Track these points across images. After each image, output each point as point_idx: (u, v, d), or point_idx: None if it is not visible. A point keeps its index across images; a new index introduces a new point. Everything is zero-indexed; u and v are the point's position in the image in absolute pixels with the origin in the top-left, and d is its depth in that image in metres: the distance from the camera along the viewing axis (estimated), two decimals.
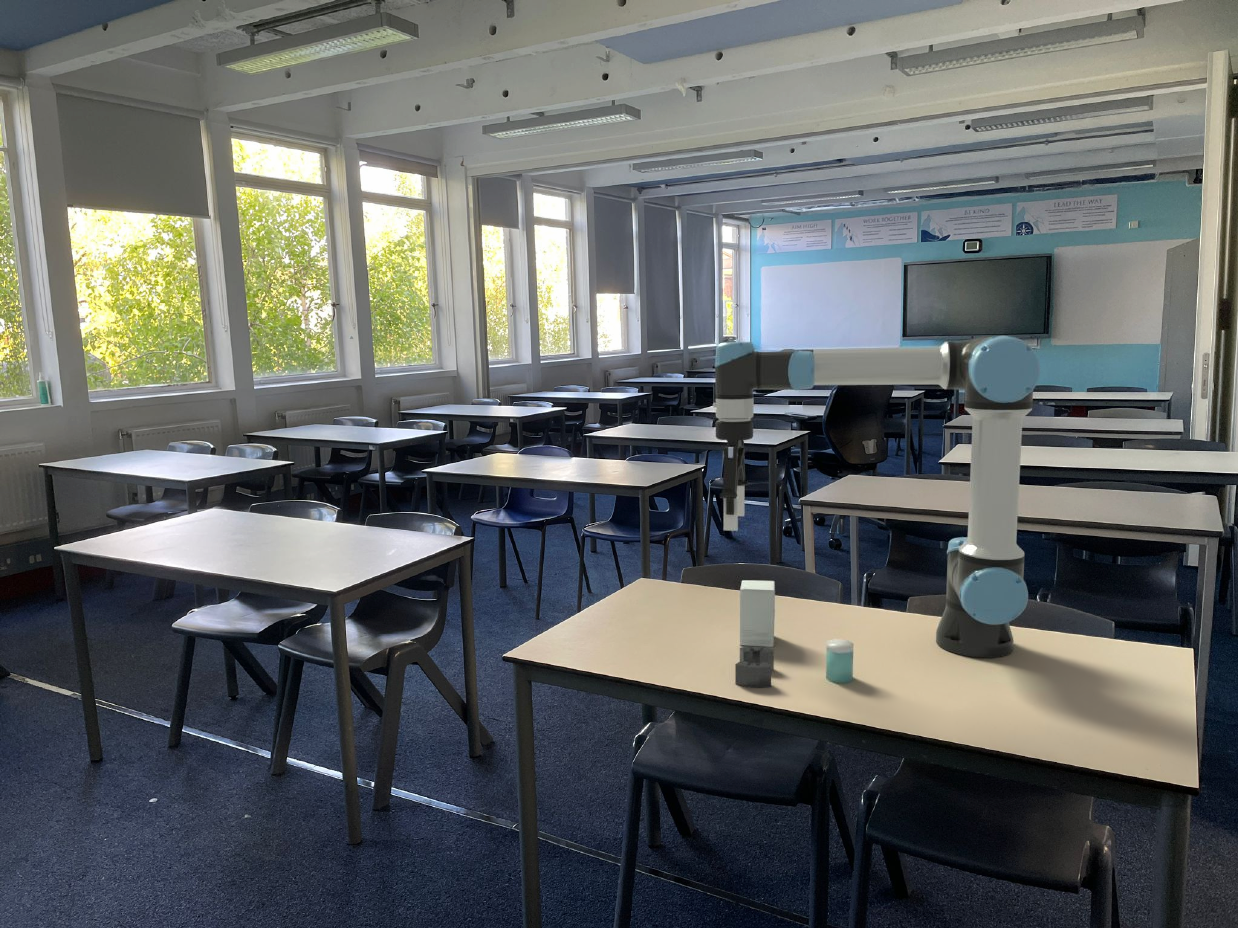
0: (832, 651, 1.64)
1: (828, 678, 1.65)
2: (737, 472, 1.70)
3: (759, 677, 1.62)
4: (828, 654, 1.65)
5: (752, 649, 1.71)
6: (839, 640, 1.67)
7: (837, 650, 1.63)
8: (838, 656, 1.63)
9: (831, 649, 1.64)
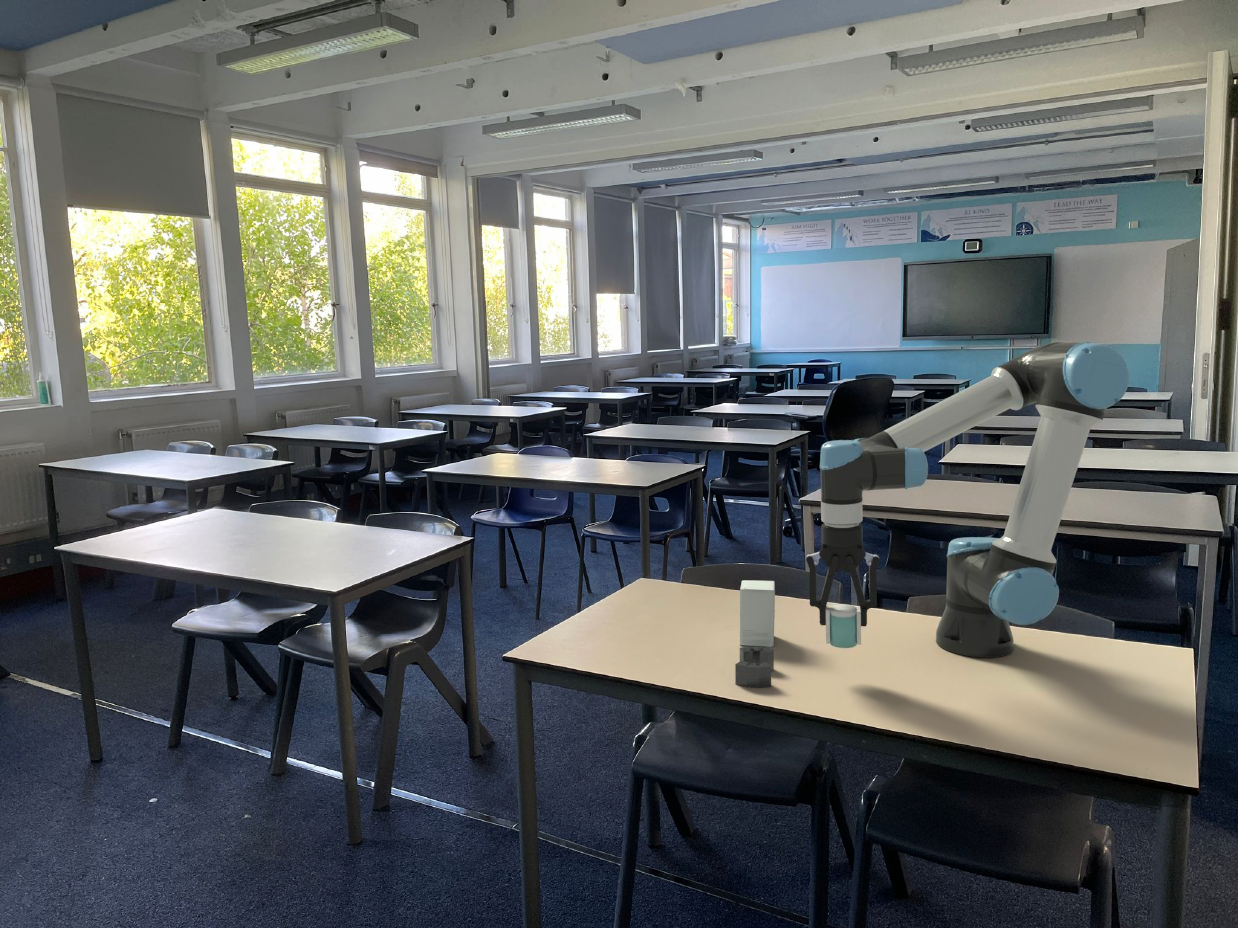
0: (835, 616, 1.63)
1: (832, 643, 1.64)
2: (825, 582, 1.63)
3: (759, 677, 1.62)
4: (831, 619, 1.64)
5: (752, 649, 1.71)
6: (842, 605, 1.66)
7: (840, 614, 1.62)
8: (842, 621, 1.62)
9: (834, 614, 1.63)
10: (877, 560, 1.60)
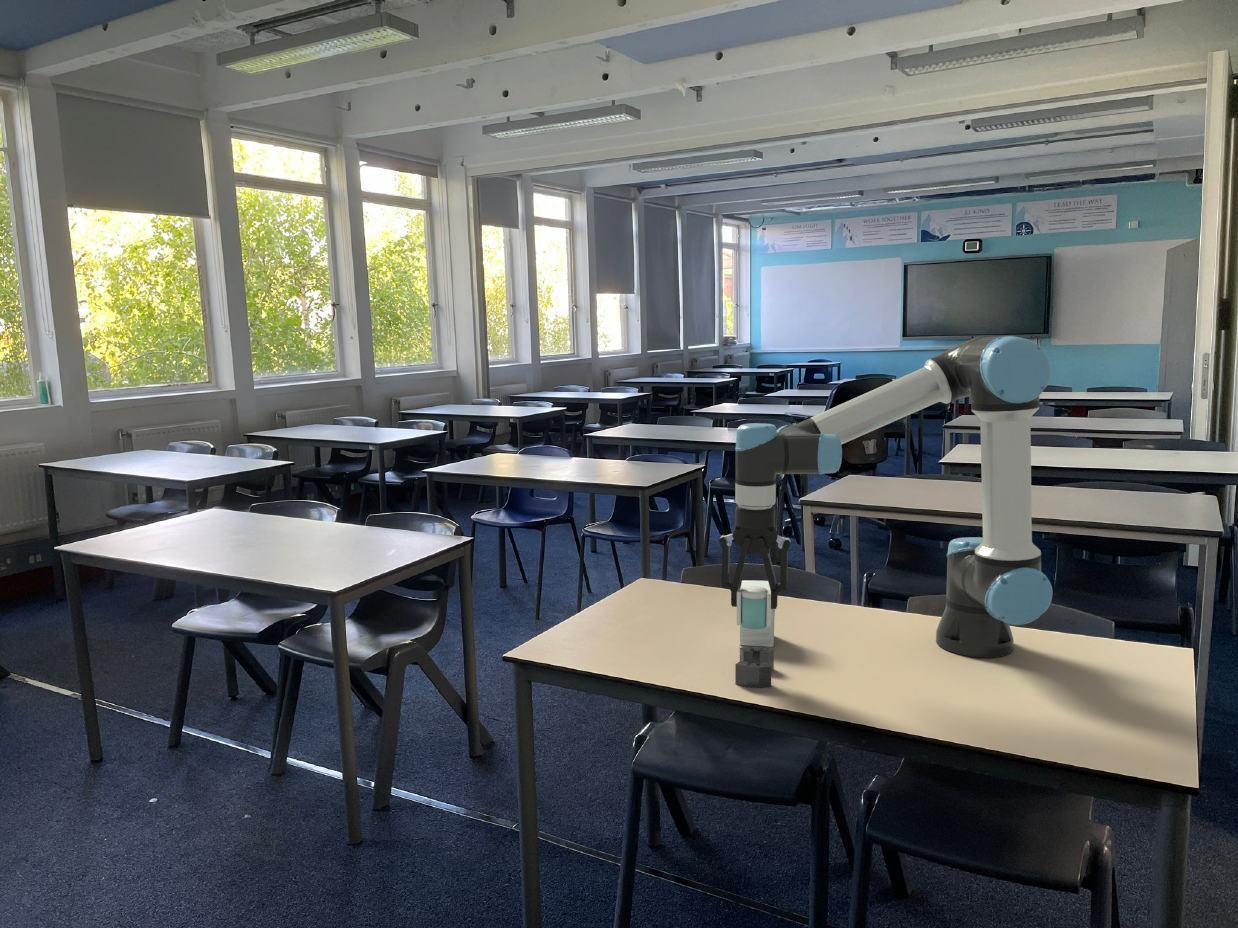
0: (745, 597, 1.64)
1: (742, 624, 1.66)
2: None
3: (759, 677, 1.62)
4: (742, 600, 1.65)
5: (752, 649, 1.71)
6: (754, 587, 1.67)
7: (750, 596, 1.63)
8: (751, 602, 1.63)
9: (745, 595, 1.64)
10: (788, 543, 1.61)
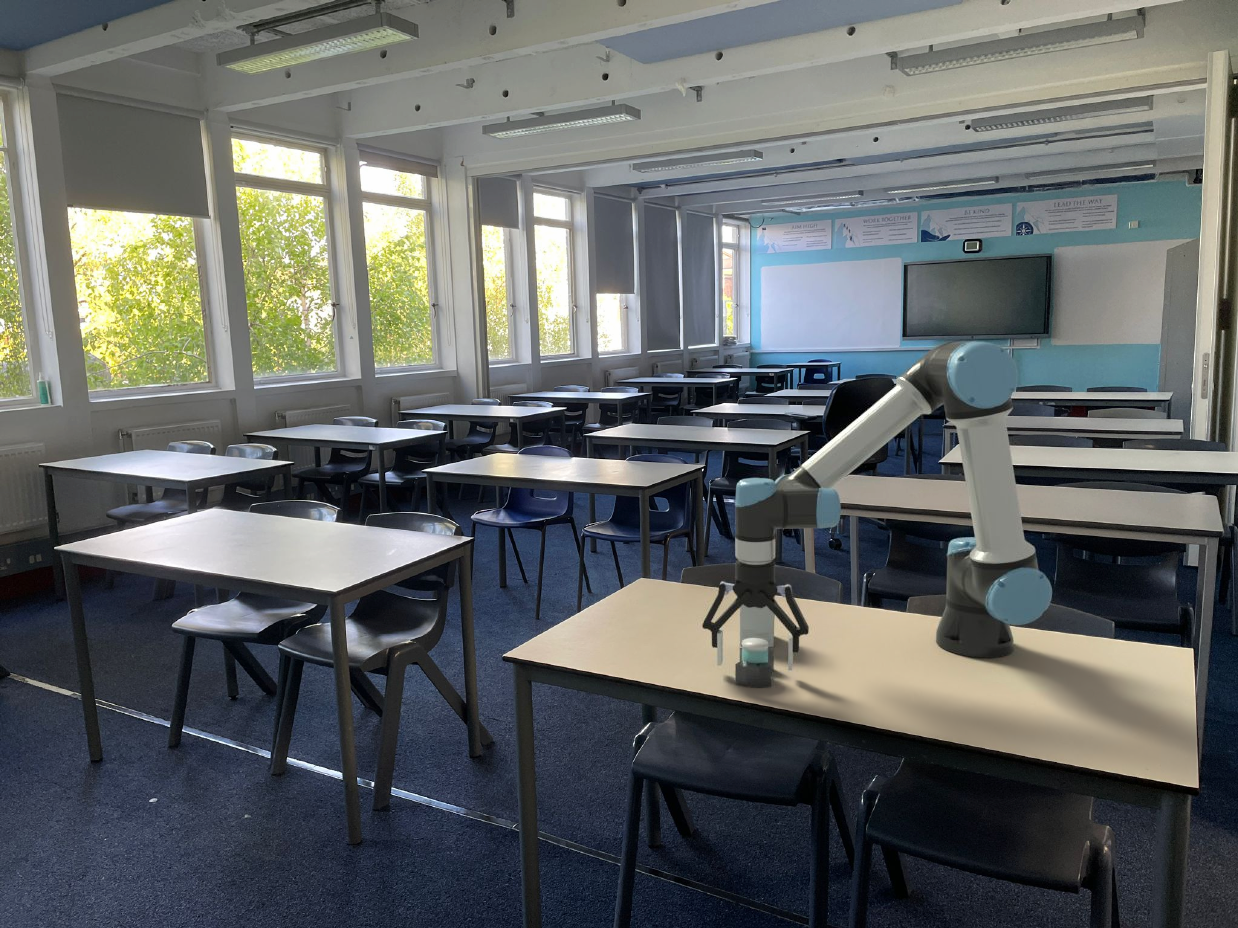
0: (746, 650, 1.65)
1: None
2: (728, 610, 1.66)
3: (759, 677, 1.62)
4: (743, 653, 1.66)
5: None
6: (755, 639, 1.69)
7: (751, 649, 1.65)
8: (752, 655, 1.65)
9: (745, 648, 1.66)
10: (789, 589, 1.63)
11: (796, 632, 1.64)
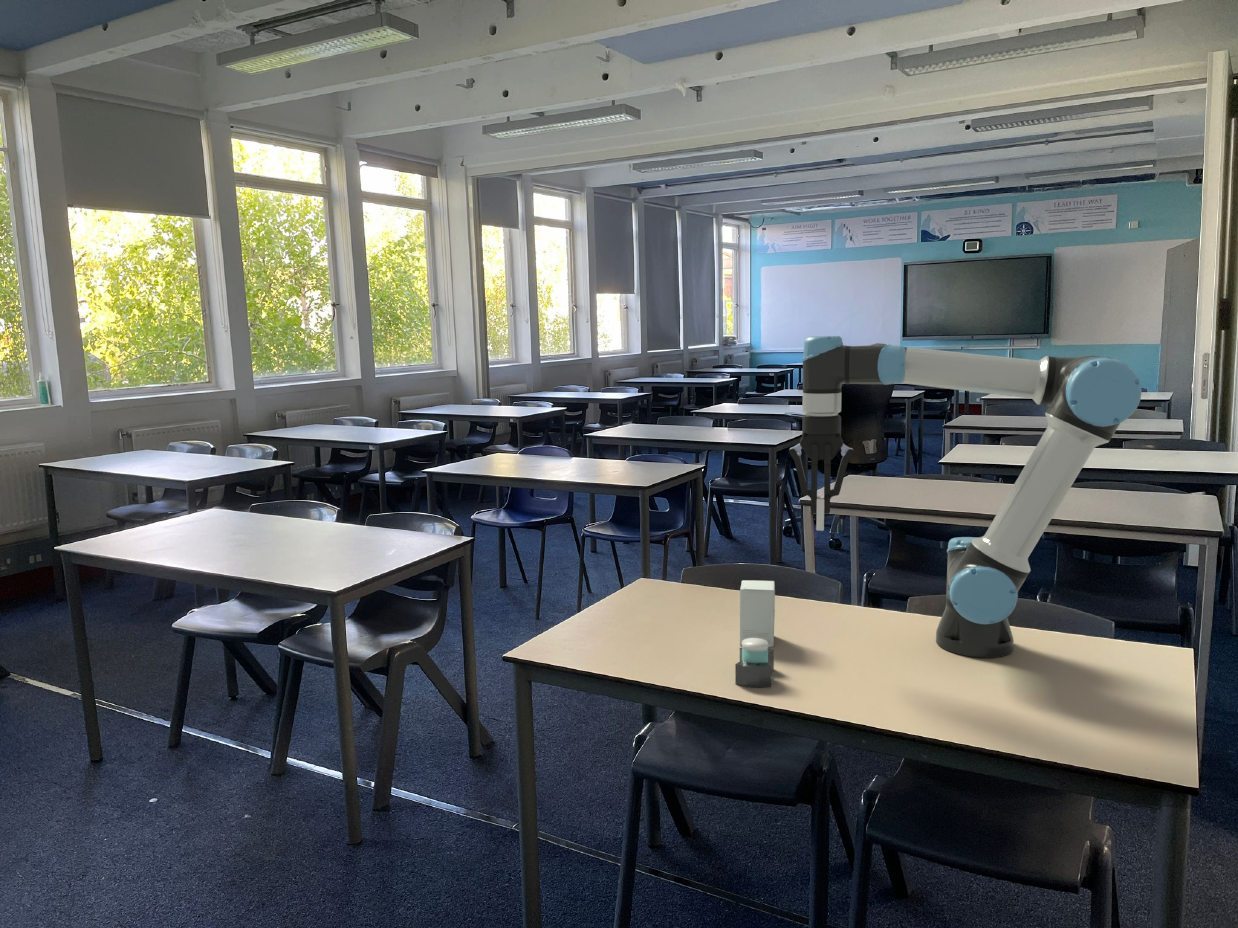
0: (746, 650, 1.65)
1: None
2: (811, 471, 1.73)
3: (759, 677, 1.62)
4: (743, 653, 1.66)
5: None
6: (755, 639, 1.69)
7: (751, 649, 1.65)
8: (752, 655, 1.65)
9: (745, 648, 1.66)
10: (851, 452, 1.71)
11: (829, 494, 1.73)
